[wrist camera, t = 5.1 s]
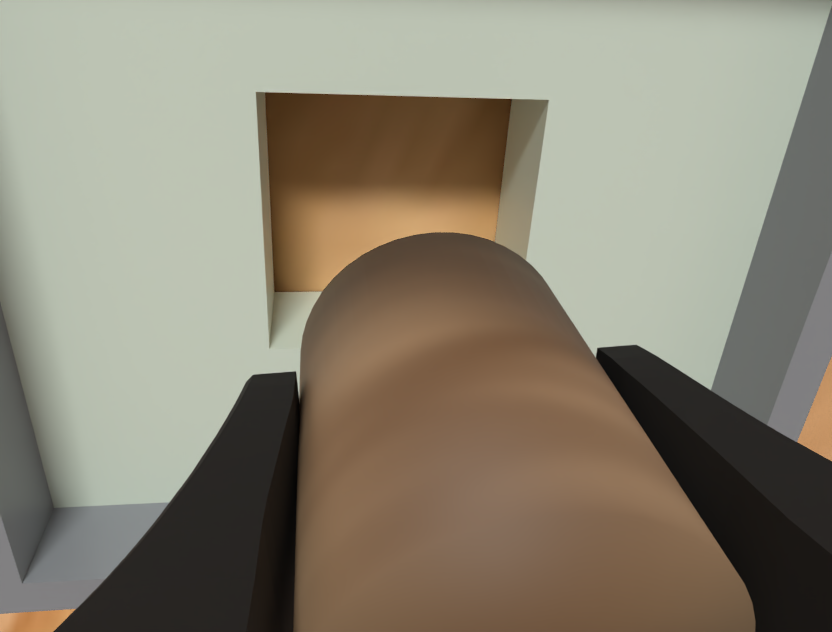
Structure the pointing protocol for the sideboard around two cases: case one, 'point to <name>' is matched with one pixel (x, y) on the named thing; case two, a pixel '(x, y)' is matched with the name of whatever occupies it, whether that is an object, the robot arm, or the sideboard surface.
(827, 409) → the sideboard surface
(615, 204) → the socket box
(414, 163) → the sideboard surface
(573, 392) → the peg
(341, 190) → the sideboard surface
